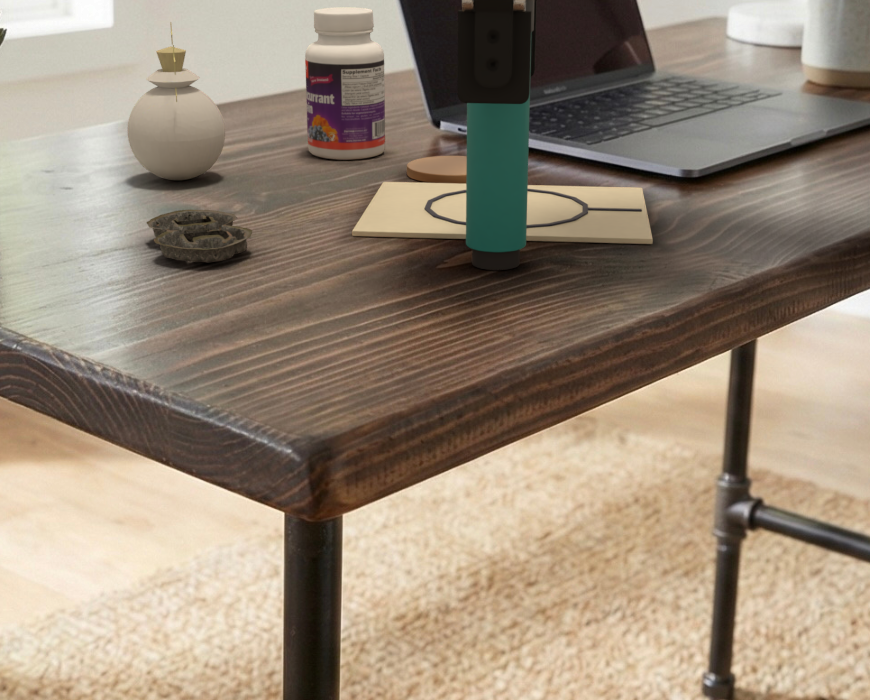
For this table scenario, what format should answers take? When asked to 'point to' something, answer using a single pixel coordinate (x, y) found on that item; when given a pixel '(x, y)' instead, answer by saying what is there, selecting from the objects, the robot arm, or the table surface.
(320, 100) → the pill bottle
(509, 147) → the cylinder
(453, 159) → the coaster
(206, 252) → the corroded twin loop
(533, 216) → the yellow board
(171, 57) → the ornament
